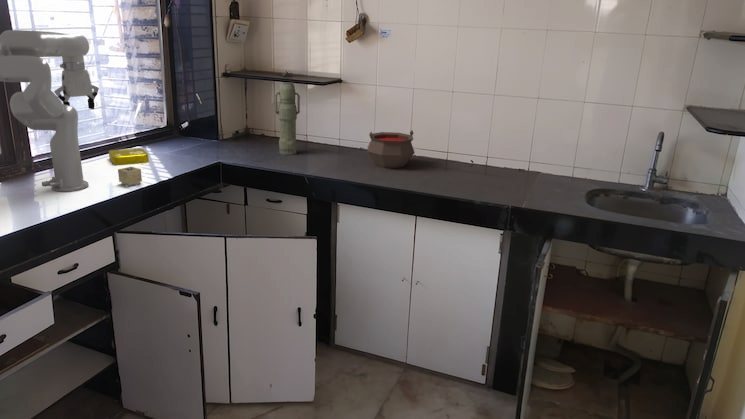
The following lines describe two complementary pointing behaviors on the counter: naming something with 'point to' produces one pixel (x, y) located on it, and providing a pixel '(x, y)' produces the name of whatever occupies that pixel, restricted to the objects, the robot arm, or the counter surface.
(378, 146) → the brown cauldron
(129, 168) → the grey post on base
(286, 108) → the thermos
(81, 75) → the robot arm
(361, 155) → the counter surface
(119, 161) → the element tile
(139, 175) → the tan box with hole
